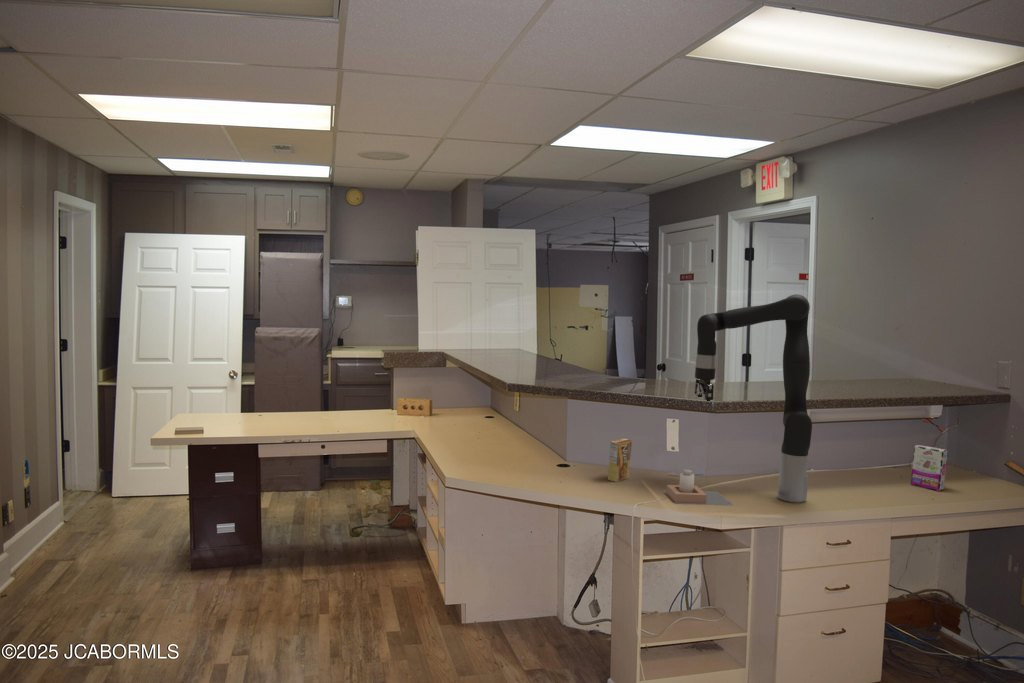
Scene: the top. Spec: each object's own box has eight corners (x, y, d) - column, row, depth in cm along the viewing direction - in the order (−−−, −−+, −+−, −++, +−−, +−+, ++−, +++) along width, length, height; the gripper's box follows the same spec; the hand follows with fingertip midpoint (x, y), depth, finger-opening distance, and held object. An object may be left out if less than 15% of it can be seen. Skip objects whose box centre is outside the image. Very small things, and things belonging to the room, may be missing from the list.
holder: (717, 494, 276) (718, 483, 275) (733, 508, 260) (734, 496, 259) (662, 493, 274) (663, 482, 273) (675, 507, 258) (676, 495, 258)
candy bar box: (944, 489, 299) (948, 449, 297) (939, 491, 295) (943, 451, 294) (914, 482, 307) (919, 443, 305) (909, 484, 304) (913, 445, 302)
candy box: (620, 476, 294) (623, 438, 293) (629, 478, 291) (632, 440, 290) (607, 479, 288) (609, 441, 286) (616, 482, 285) (618, 443, 284)
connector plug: (690, 495, 268) (692, 468, 267) (694, 500, 263) (696, 472, 262) (676, 495, 268) (678, 468, 267) (681, 499, 263) (683, 472, 262)
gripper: (721, 369, 277) (718, 412, 279) (708, 364, 291) (706, 405, 293) (702, 368, 277) (699, 411, 278) (690, 363, 291) (687, 404, 292)
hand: (702, 408), depth 285 cm, fingers open, 8 cm apart
